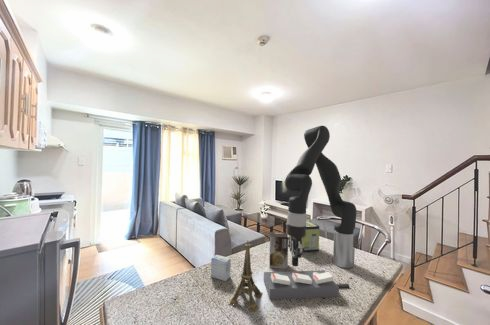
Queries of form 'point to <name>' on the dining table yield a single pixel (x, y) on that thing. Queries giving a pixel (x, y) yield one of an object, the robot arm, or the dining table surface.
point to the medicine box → (220, 267)
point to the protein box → (310, 238)
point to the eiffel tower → (247, 283)
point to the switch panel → (300, 287)
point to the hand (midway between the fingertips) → (294, 265)
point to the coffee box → (278, 250)
